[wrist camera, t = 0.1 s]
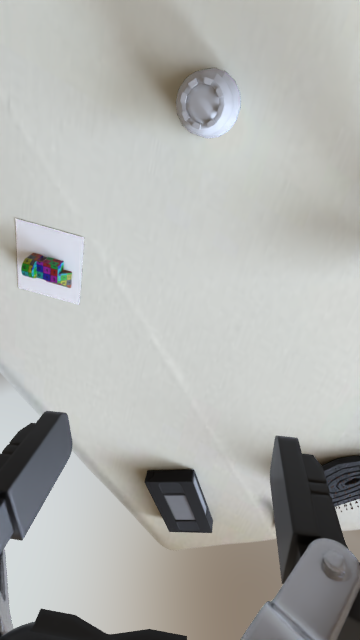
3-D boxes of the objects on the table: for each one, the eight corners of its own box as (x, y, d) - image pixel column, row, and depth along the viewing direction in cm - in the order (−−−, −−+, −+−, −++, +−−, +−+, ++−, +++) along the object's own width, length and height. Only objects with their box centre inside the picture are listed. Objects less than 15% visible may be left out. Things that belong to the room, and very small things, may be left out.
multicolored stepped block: (18, 287, 37) (5, 298, 35) (15, 218, 33) (0, 225, 31) (79, 304, 37) (69, 316, 35) (84, 237, 33) (73, 246, 31)
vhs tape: (194, 469, 50) (192, 481, 49) (213, 520, 57) (212, 532, 56) (147, 470, 52) (144, 482, 51) (171, 519, 59) (169, 531, 58)
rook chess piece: (199, 55, 24) (184, 35, 17) (252, 88, 25) (258, 82, 18) (172, 119, 26) (150, 124, 20) (221, 148, 27) (216, 162, 20)
